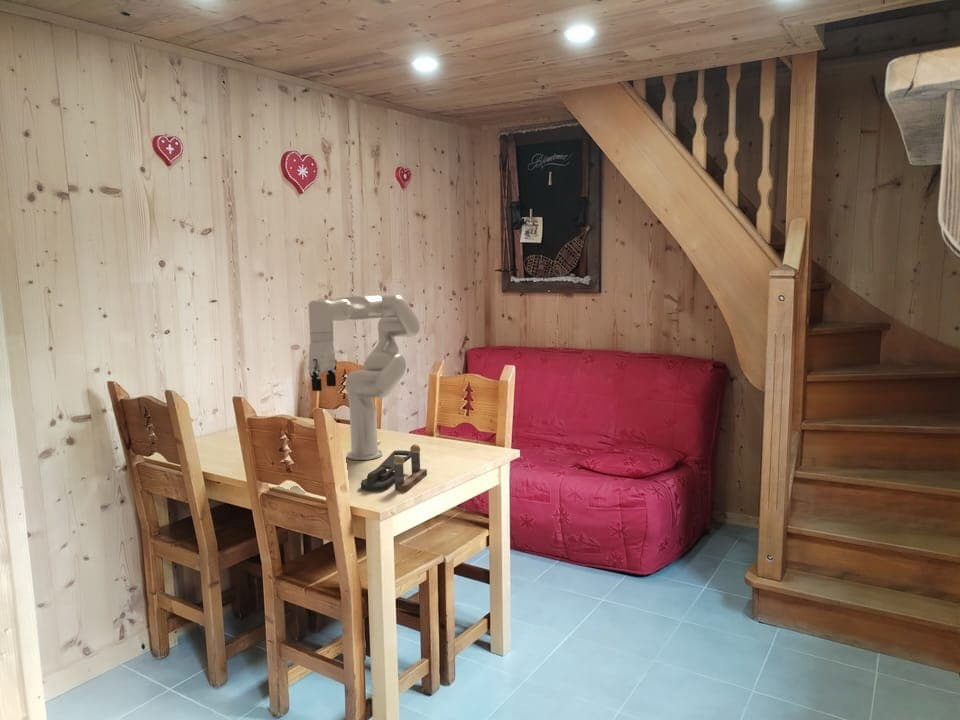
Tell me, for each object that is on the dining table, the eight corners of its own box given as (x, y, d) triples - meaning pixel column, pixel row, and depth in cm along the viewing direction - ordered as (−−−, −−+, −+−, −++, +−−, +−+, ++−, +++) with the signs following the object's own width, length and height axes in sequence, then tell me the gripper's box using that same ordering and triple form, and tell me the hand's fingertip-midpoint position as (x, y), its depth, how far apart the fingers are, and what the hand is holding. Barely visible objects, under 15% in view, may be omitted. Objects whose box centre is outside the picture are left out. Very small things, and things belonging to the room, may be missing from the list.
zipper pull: (417, 451, 224) (381, 471, 201) (418, 470, 225) (382, 493, 202) (393, 449, 227) (355, 469, 204) (394, 468, 228) (356, 490, 205)
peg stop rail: (413, 474, 220) (412, 442, 219) (426, 475, 219) (425, 443, 218) (392, 491, 203) (390, 457, 202) (406, 492, 202) (405, 457, 200)
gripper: (324, 335, 230) (326, 384, 232) (297, 339, 214) (300, 392, 216) (344, 335, 228) (346, 384, 230) (318, 339, 212) (321, 393, 214)
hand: (324, 388), depth 223 cm, fingers open, 9 cm apart
